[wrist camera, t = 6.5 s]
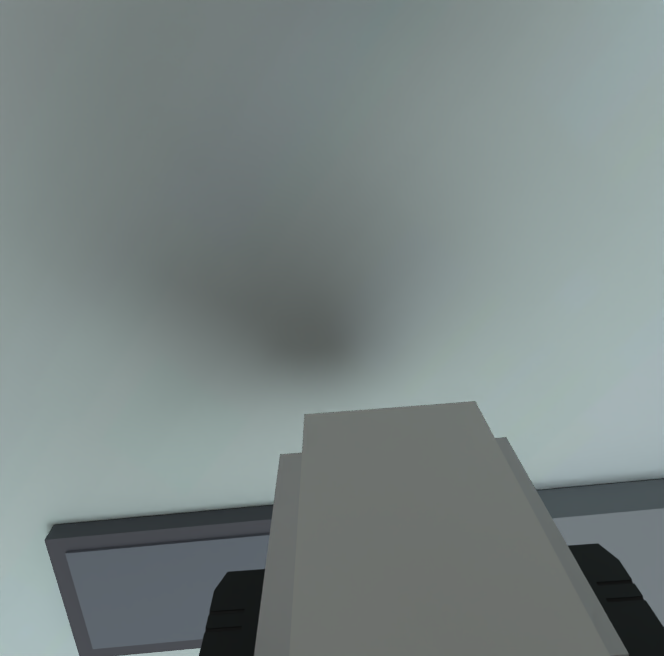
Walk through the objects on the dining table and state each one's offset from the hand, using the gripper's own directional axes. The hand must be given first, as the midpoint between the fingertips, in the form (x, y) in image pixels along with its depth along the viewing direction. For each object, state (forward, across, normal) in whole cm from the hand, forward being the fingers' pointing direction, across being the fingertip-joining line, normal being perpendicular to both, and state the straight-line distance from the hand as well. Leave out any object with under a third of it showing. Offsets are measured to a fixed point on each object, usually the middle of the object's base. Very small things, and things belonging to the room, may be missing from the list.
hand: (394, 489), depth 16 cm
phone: (+9, -5, -10) cm, 14 cm away
